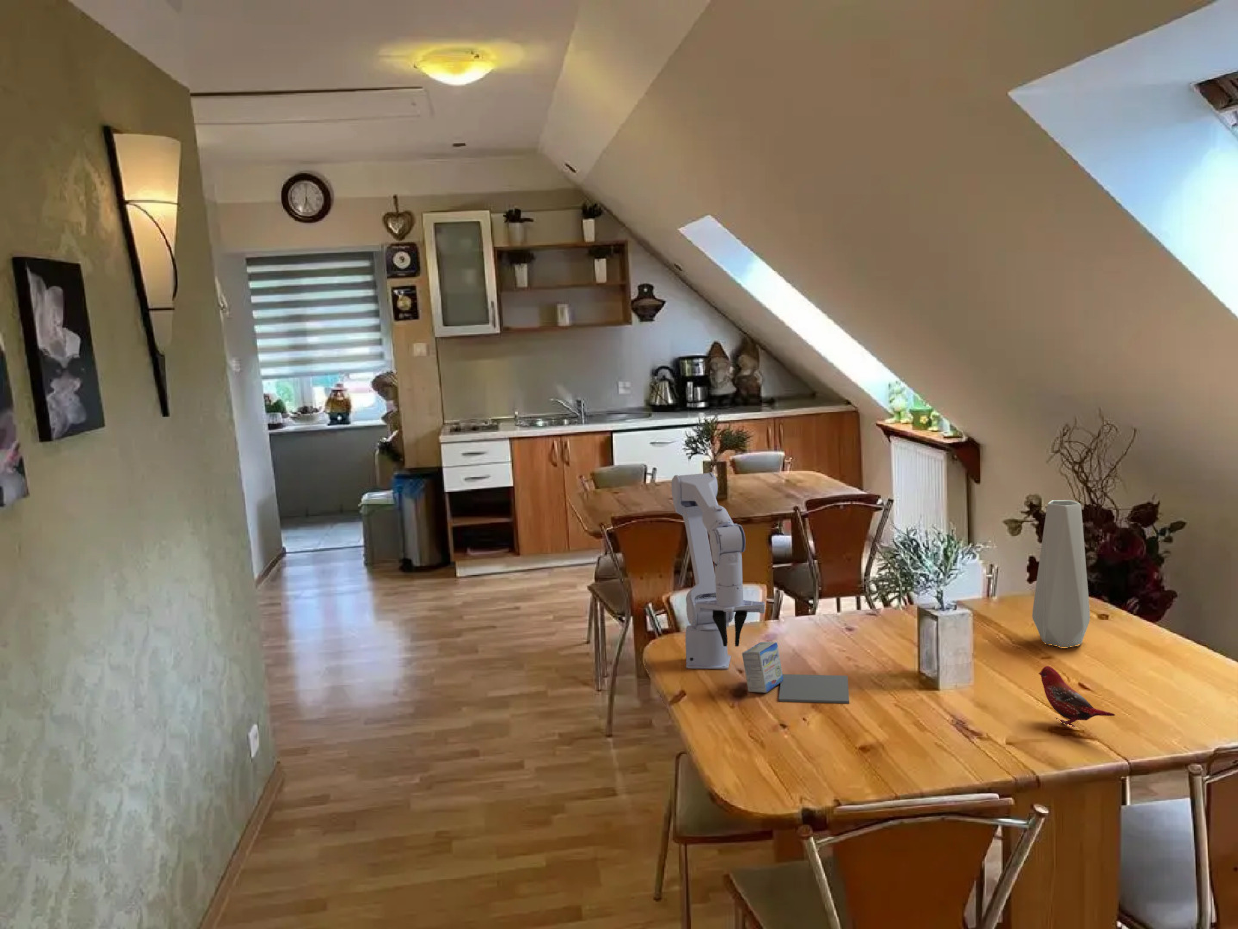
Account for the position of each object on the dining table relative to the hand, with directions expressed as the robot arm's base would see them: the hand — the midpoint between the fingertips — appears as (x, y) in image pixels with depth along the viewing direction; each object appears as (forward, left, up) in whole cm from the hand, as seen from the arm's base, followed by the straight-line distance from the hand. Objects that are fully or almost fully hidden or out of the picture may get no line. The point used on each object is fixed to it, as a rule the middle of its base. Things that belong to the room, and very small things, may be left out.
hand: (731, 644), depth 204 cm
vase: (+72, +32, -10) cm, 79 cm away
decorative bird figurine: (+64, -16, -10) cm, 67 cm away
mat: (+17, 0, -9) cm, 19 cm away
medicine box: (+7, 0, -9) cm, 12 cm away
